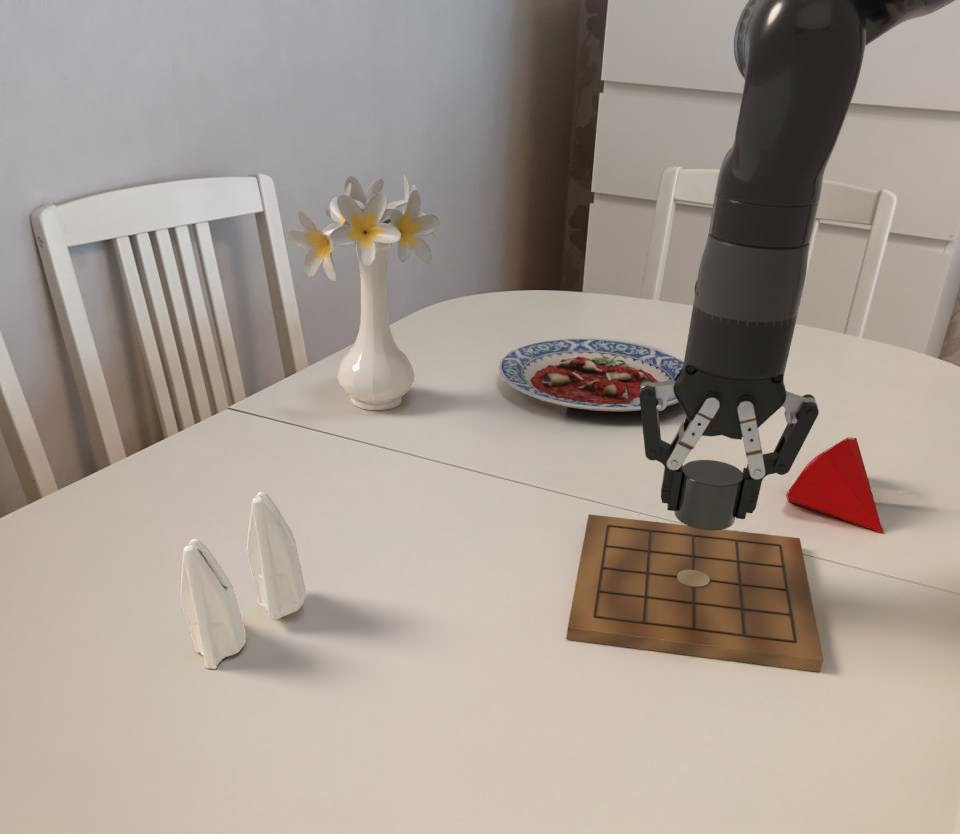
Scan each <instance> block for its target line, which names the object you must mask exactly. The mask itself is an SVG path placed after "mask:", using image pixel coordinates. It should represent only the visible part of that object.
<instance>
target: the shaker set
mask: <svg viewBox="0 0 960 834" xmlns="http://www.w3.org/2000/svg"><path fill="white" fill-rule="evenodd" d="M250 504H251V505H250V513H249V521H248V531H247V539H246V555H247V560H248V564H249V568H250V569H249V570H250V572H251V576H252V581H253V585H254V589H255V593H256V598H257V603H258V605H259V606H260V607H261V608H262V609H263V610H264V611H265V612H266V613H267V617H268V618H269V619H272V620H279V619H281V618H282V617H286V616H289V615H292V614H293V613H295V612H298V611H299V610H300V609H301V607H302V606H303V604H304V602H305V601H306V597H307V588H306V585H305V579H304V573H303V570H302V565H301V560H300V554H299V551H298V546H297V542H296V538H295V536H294V534H293V531H292V530H291V527H290V526H289V525H288V523H287V521H286V518H284V516H283V514H282V513H281V511H280V510H279V507H277V505H276V503H275V502H274V501H273V500H272V498H271V497H270V496H269V494H268V493H265V492H262V491H259V492H258V493H256V495H255V497H254V498H253V499H252V501H251V503H250ZM182 551H183V553H182V563H181V576H180V591H179V593H180V595H179V596H180V603H181V608H182V611H183V615H184V617H185V620H186V623H187V626H188V630H189V633H190V636H191V640H192V643H193V645H194V650H195V652H196V653H200V655H202V656H203V658H204V667H205V668H207V669H208V670H209V669H211V670H216V669H217V667H218V665H219V663H221V662H222V661H223V659H226V657H227V658H229V657H231V656H233V655H236V654H238V653H239V652H240V651H241V650H242V648H243V647H244V646H245V644H246V642H247V641H246V639H247V631H246V628H245V625H244V621H243V617H242V613H241V610H240V606H239V603H238V599H237V595H236V593H235V589H234V586H233V583H232V582H231V579H230V578H229V577H228V575H227V574H226V572H225V570H224V569H223V568H222V566H221V565H220V563H219V561H218V560H217V559H216V557H215V556H214V555H213V553H212V552H211V551H210V549H209V548H208V547H207V546H206V544H204V542H203V541H202V540H200V539H197V538H191V539H190V540H189V543H188V545H186V546H184V548H183V550H182Z"/></svg>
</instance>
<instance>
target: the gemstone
mask: <svg viewBox="0 0 960 834" xmlns="http://www.w3.org/2000/svg"><path fill="white" fill-rule="evenodd" d="M785 497H786V500H787V502H788V503H791V504H794V505H797V506H799V507H803V508H806V509H809V510H811V511H815V512H818V513H821V514H824V515H826V516H831V517H833V518H836V519H839V520H842V521H845V522H847V523H851V524H853V525H856V526H860V527H862V528H866V529H870V530H872V531H875V532H877V533H881V534H884V530H883V525H882V523H881V519H880V516H879V512H878V509H877V505H876V502H875V499H874V498H875V497H874V495H873V491H872V488H871V484H870V480H869V477H868V474H867V470H866V467H865V463H864V460H863V455H862V453H861V449H860V446H859V442H858V439H857V437H846V438H844V439H842V440H841V441H839V442H837V443H835V444H834V445H832V446H831V447H829V448H827V449H825V450H824V451H822V452H821V453H819V454H817V455H816V456H815V457H814V458H812V460H810V461H809V462H808V463H807V464H806V465H805V467H804V468H803V469H802V471H801V473H800V474H799V475H798V476H797V478H796V480H795V481H794V482H793V484H792V485H791V486H790V488H789V489H788V491H787V492H786V494H785Z"/></svg>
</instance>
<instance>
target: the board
mask: <svg viewBox="0 0 960 834" xmlns="http://www.w3.org/2000/svg"><path fill="white" fill-rule="evenodd" d="M586 520H587V521H586V527H585V531H584V537H583V542H582V548H581V553H580V560H579V565H578V570H577V575H576V580H575V586H574V590H573V597H572V601H571V608H570V613H569V619H568V623H567V630H566V640H568V641H575V642H577V641H578V642H584V643H593V644H600V645H607V646H616V647H622V648H631V649H639V650H647V651H653V652H661V653H670V654H676V655H683V656H684V655H685V656H686V655H687V656H692V657H699V658H700V657H701V658H708V659H715V660H724V661H730V662H731V661H732V662H737V663H738V662H739V663H748V664H754V665H761V666H762V665H763V666H769V667H777V668H784V669H793V670H800V671H808V672H817V673H820V672H821V671H822V668H823V664H824V654H823V649H822V645H821V640H820V635H819V630H818V624H817V619H816V614H815V609H814V604H813V599H812V593H811V588H810V584H809V578H808V573H807V567H806V563H805V557H804V553H803V548H802V542H801V538H800V537H794V536H784V535H776V534H767V533H757V532H748V531H739V530H731V529H722V530H702V529H697V528H693V527H690V526H688V525H686V524H679V523H678V524H677V523H669V522H660V521H651V520H642V519H633V518H624V517H616V516H608V515H606V516H605V515H598V514H590V513H589V514H588V516H587V519H586Z"/></svg>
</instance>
